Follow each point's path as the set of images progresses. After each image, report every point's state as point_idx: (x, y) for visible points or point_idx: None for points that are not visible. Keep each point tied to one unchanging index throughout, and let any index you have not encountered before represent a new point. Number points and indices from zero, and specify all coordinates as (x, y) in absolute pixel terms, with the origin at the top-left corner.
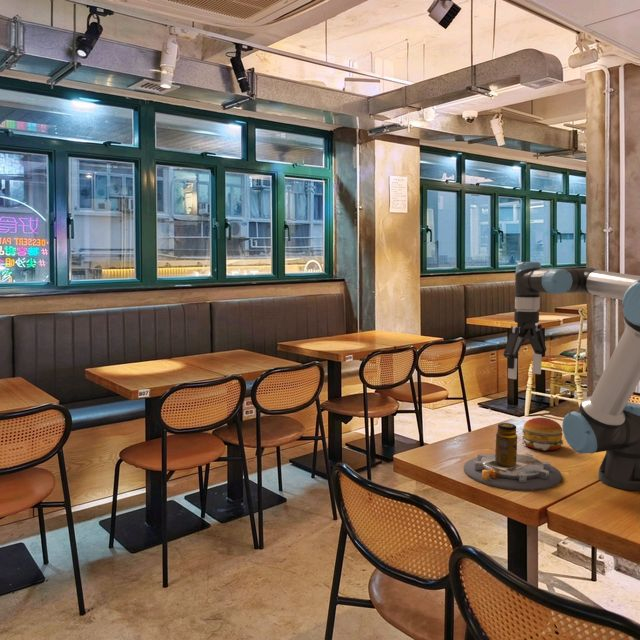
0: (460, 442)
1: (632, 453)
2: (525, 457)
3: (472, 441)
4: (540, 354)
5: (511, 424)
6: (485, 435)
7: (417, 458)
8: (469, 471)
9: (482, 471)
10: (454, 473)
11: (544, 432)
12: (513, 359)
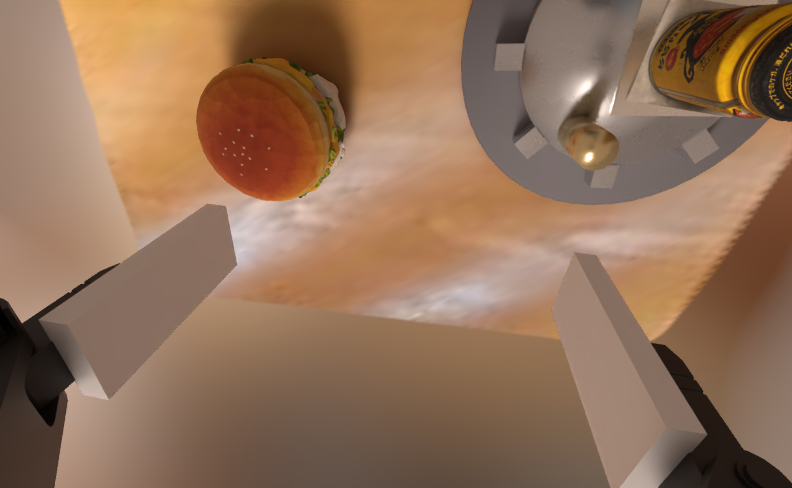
0: (432, 295)
1: None
2: (544, 51)
3: (401, 280)
4: (57, 328)
5: (789, 58)
6: (330, 280)
7: (634, 309)
8: (720, 151)
9: None
10: (722, 185)
11: (312, 102)
12: (701, 443)
